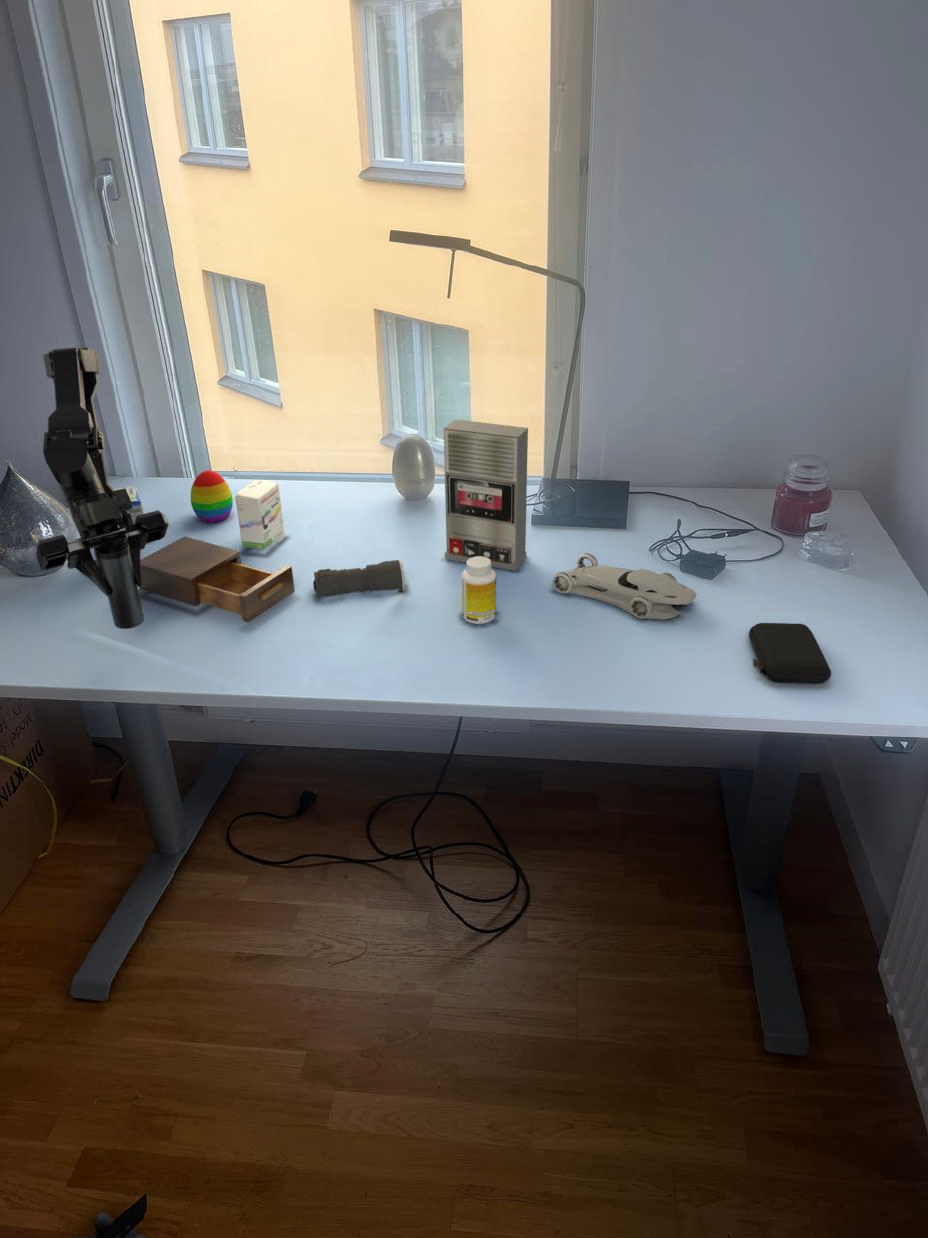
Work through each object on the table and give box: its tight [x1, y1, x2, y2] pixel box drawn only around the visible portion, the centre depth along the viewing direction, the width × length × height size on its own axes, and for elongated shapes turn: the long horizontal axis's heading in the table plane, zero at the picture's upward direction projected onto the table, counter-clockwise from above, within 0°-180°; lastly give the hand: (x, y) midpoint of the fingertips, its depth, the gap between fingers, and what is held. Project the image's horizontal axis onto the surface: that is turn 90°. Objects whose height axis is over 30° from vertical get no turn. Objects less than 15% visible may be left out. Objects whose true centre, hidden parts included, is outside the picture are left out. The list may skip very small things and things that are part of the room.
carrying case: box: [748, 622, 832, 685], centre depth 141 cm, size 11×3×15 cm
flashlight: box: [312, 559, 406, 598], centre depth 160 cm, size 15×5×5 cm, turn 102°
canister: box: [96, 541, 145, 630], centre depth 140 cm, size 5×5×13 cm
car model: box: [552, 552, 697, 621], centre depth 158 cm, size 11×24×5 cm, turn 55°
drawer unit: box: [138, 536, 243, 607], centre depth 162 cm, size 13×12×6 cm
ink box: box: [234, 479, 286, 550], centre depth 176 cm, size 8×5×12 cm, turn 163°
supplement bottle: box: [461, 556, 497, 625], centre depth 152 cm, size 6×6×10 cm
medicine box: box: [114, 486, 145, 524], centre depth 182 cm, size 8×4×9 cm, turn 23°
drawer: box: [196, 561, 296, 623], centre depth 157 cm, size 14×12×6 cm
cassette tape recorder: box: [443, 419, 529, 572], centre depth 166 cm, size 14×6×25 cm, turn 68°
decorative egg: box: [190, 469, 234, 523], centre depth 188 cm, size 8×8×10 cm
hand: (124, 590), depth 139 cm, fingers closed on canister, 4 cm apart
